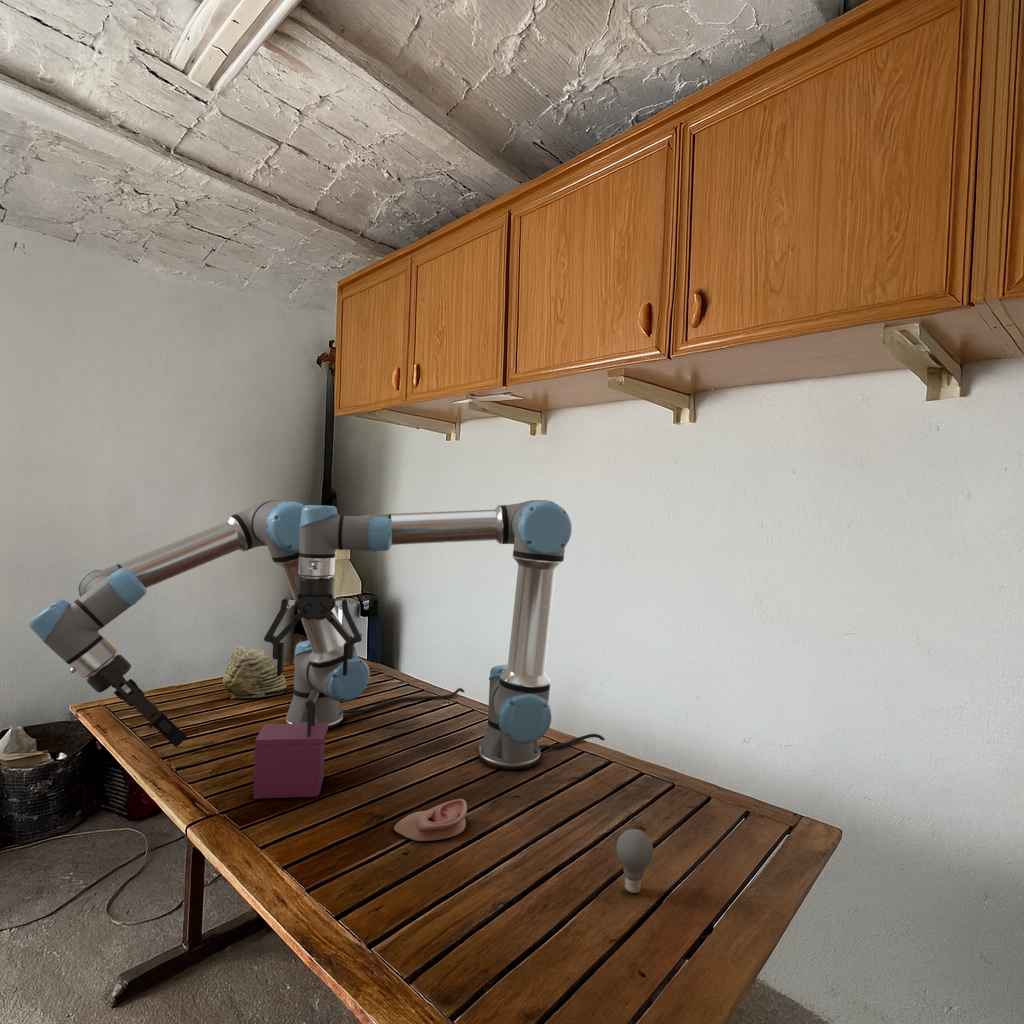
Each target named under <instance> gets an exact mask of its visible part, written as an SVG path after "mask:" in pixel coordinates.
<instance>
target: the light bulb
mask: <svg viewBox="0 0 1024 1024" xmlns="http://www.w3.org/2000/svg"><path fill="white" fill-rule="evenodd" d="M615 849H616V854H617V857H618V859H619V861H620V863H621V865H622V867H623V873H624V874H623V875H624V876H625V878H624V888H625V890H627V891H628V892H630V893H634V894H635V893H639V892H640V891H641V889H642V887H641V886H642V879H643V877H644V875H645V871H646V868H647V867H648V866H649V864H650V863H651V861H652V859H653V855H654V847H653V843H652V841H651V838H649V836H648V835H647V834H646V833H645V832H643V831H642V830H641V829H636V828H629V829H627V830H625V831H623V832H622V833H621V834H620V835H619V837H618V839H617V841H616V847H615Z"/></svg>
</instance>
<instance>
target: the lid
mask: <svg viewBox="0 0 1024 1024" xmlns="http://www.w3.org/2000/svg"><path fill="white" fill-rule="evenodd" d="M318 696H319V692H318V691H317V690H313V691H311V693H310V695H309V697H308V699H307V701H306V704H305V706H306V708H307V709H308V723H294V724H286V723H264V725H263V726H262V728H261V730H260V731H259V733H258V735H256V738H255V739H254V746H255V745H301V744H323V743H324V740H325V741H326V736H327V733H328V731H329V730H328V723H315V708H316V701H317V698H318Z"/></svg>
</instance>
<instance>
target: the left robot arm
mask: <svg viewBox="0 0 1024 1024" xmlns="http://www.w3.org/2000/svg"><path fill="white" fill-rule="evenodd" d="M304 506H307V505H306V504H304V503H301V502H298V501H294V500H266V501H262V502H260V503H257V504H255V505H252V506H251V507H248V508H246V509H243V510H242V511H239V512H236V513H234V514H232V515H229V516H227V517H226V520H225V522H222V523H220V524H217V525H215V526H212V527H209V528H207V529H204V530H201V531H199V532H196V533H194V534H192V535H189V536H187V537H184V538H181V539H179V540H176V541H174V542H173V541H172V542H171V543H168V544H166V545H163V546H160V547H158V548H155V549H152V550H150V551H148V552H144V553H142V554H140V555H138V556H137V555H136V556H134V557H132V558H129V559H126V560H124V561H122V562H119V563H117V564H115V565H112V566H109V567H106V568H103V569H94V570H91V571H90V570H89V571H88V572H87V573H85V574H83V575H82V577H81V578H79V581H78V584H77V592H78V596H79V597H78V598H77V599H75V600H74V601H72V602H69V601H67V600H66V599H63V598H60V599H58V600H56V602H54V603H52V604H51V605H50V606H48V607H46V608H45V609H44V610H43V611H41V612H40V613H38V614H36V615H35V616H34V617H33V618H31V619H30V621H29V628H30V630H32V632H33V633H34V634H36V635H37V637H38V638H39V639H41V641H42V642H43V643H44V644H45V645H46V646H47V647H48V648H49V649H50V650H52V651H53V652H54V653H55V654H56V655H57V656H58V657H59V658H60V659H62V661H64V662H65V663H66V664H67V665H68V666H70V667H71V668H70V669H69V672H70V673H71V674H74V673H76V672H77V674H78V675H79V676H80V677H81V678H83V679H85V678H86V683H87V684H88V685H89V686H90V687H91V688H92V689H93V690H94V691H95V692H97V693H103V692H105V691H106V690H108V689H109V688H110V687H112V688H114V689H115V691H114V692H113V694H114V695H115V696H116V697H117V698H118V699H119V700H120V701H124V702H125V703H126V705H128V706H129V707H134V708H135V709H136V711H137V712H139V714H140V715H142V716H143V718H144V719H145V720H146V721H148V722H149V723H148V724H147V726H148V728H150V729H152V728H155V729H156V730H157V731H158V732H159V733H160V734H161V735H162V736H163V737H164V738H165V739H166V740H167V741H168V742H170V744H172V745H173V746H174V747H175V748H178V747H179V746H180V745H181V744H182V743H183V742H184V741H185V740H186V739H187V738H188V735H187V734H185V733H184V731H182V730H181V729H180V728H179V727H178V726H177V725H176V724H175V723H174V722H173V721H172V720H171V719H170V718H169V717H167V716H166V715H165V714H164V711H160V710H159V708H158V707H157V706H156V705H157V703H156V702H154V700H151V701H150V700H149V699H148V698H147V696H145V695H146V693H145V692H144V691H143V690H142V689H141V688H140V687H139V685H138V683H136V681H135V680H133V679H132V678H129V679H128V680H127V679H126V678H125V677H124V676H125V675H126V674H128V672H129V671H130V670H131V668H132V664H131V663H130V662H129V661H128V660H127V659H126V658H125V657H124V656H123V655H122V654H117V652H118V650H117V649H116V648H115V647H114V646H113V645H112V644H111V643H110V641H108V640H107V639H106V638H105V637H103V636H102V635H101V634H100V633H99V631H100V630H101V629H103V628H105V626H107V625H108V624H109V623H111V622H112V621H113V620H115V619H117V618H118V617H119V616H120V615H122V614H123V613H125V612H126V611H127V610H129V609H130V608H131V607H133V606H135V605H136V604H137V603H138V602H139V601H140V600H141V599H142V598H144V596H145V595H146V594H147V591H148V590H147V588H149V587H152V586H154V585H157V584H159V583H162V582H164V581H167V580H169V579H171V578H174V577H177V576H179V575H181V574H184V573H186V572H188V571H190V570H193V569H195V568H198V567H200V566H203V565H205V564H208V563H210V562H213V561H215V560H217V559H220V558H222V557H224V556H226V555H229V554H231V553H234V552H237V551H241V552H247V551H249V550H251V549H254V548H255V549H256V548H258V547H267V549H268V551H269V554H270V557H271V560H272V563H273V564H275V565H278V566H280V567H282V571H283V573H284V576H285V579H286V581H287V584H288V587H289V590H290V593H291V596H292V598H293V599H294V600H296V599H297V596H298V579H299V578H300V577H301V575H299V574H298V571H299V547H300V523H301V513H302V508H303V507H304ZM331 611H332V612H333V614H334V615H335V617H336V618H337V619H338V620H339V621H340V619H339V616H338V614H337V610H336V607H334V608H333V609H332V610H331ZM297 612H298V613H299V610H298V609H297ZM300 621H301V623H302V626H303V629H304V631H305V634H306V637H307V640H303V641H300V642H297V644H296V645H295V650H294V655H293V656H294V672H293V695H292V696H293V697H292V699H291V702H290V704H289V708H288V711H287V713H286V715H285V724H294V723H308V709H307V708H306V706H305V704H306V701H307V699H308V697H309V695H310V693H311V691H313V690H317V691H318V692H319V696H318V698H317V701H316V708H315V723H328V730H327V731H329V730H332V729H335V728H337V727H339V726H340V725H342V723H343V722H344V715H346V714H357V713H358V714H359V713H367V712H369V711H373V710H375V709H378V708H380V707H384V706H387V705H390V704H394V703H399V702H405V701H417V700H419V701H420V700H422V701H423V700H436V699H437V700H441V699H449V698H452V697H455V696H456V695H458V693H459V692H461V693H465V692H466V691H465V690H464V689H463V688H462V687H459V688H457V689H456V690H455V691H453V692H452V693H450V694H444V695H426V696H425V695H424V696H407V697H400V698H395V699H391V700H387V701H384V702H381V703H378V704H377V703H376V704H375V705H372V706H369V707H366V708H359V709H346V710H343V709H342V706H341V703H350V702H352V701H354V700H355V699H358V697H360V696H361V695H362V694H363V693H364V692H365V690H366V688H367V686H368V684H369V682H370V677H371V673H370V667H369V665H368V664H367V662H366V661H365V660H364V659H362V658H360V657H359V655H358V653H357V649H356V646H354V647H353V657H352V659H348V667H347V675H343V656H344V644H345V643H347V642H346V641H345V640H344V639H343V638H342V636H341V635H340V634H339V633H338V632H337V630H336V629H335V628H334V627H333V626H332V624H331V623H330V622H329V621H328V620H327V619H326V618H325V619H322V620H316V619H312V620H307V619H305V618H304V617H303V618H302V619H301V620H300Z"/></svg>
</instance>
